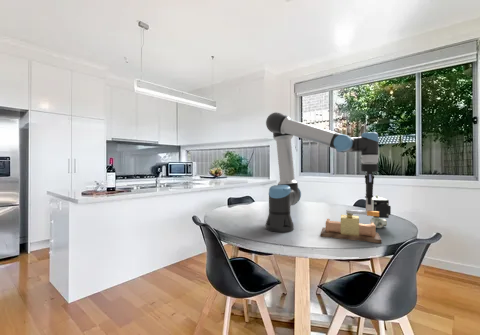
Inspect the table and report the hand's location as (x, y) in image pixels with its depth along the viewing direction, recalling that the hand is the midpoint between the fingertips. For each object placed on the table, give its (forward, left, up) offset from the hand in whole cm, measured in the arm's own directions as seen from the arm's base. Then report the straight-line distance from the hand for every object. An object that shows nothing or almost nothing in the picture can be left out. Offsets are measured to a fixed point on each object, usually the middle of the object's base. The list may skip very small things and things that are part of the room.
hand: (368, 210), depth 123 cm
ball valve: (+6, +19, -12) cm, 24 cm away
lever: (-3, -7, -1) cm, 8 cm away
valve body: (-9, -7, -11) cm, 16 cm away
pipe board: (-9, -7, -12) cm, 16 cm away
